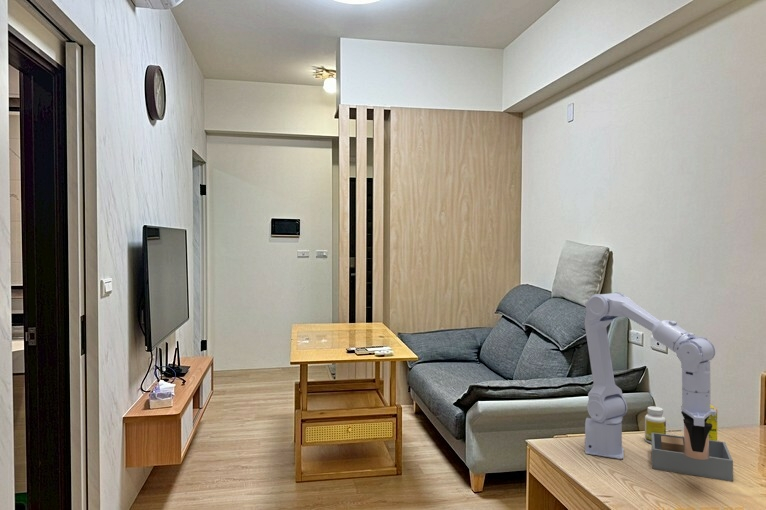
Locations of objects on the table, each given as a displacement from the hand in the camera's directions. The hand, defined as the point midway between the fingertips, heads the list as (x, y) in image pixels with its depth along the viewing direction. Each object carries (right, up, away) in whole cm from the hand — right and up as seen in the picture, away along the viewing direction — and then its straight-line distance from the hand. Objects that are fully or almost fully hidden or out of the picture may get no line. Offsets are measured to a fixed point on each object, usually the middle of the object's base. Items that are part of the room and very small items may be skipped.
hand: (696, 447), depth 121 cm
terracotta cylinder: (0, -2, 0) cm, 2 cm away
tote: (+6, -9, +12) cm, 16 cm away
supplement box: (+18, -9, +26) cm, 33 cm away
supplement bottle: (+5, -9, +28) cm, 30 cm away
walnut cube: (+2, -8, +14) cm, 16 cm away
